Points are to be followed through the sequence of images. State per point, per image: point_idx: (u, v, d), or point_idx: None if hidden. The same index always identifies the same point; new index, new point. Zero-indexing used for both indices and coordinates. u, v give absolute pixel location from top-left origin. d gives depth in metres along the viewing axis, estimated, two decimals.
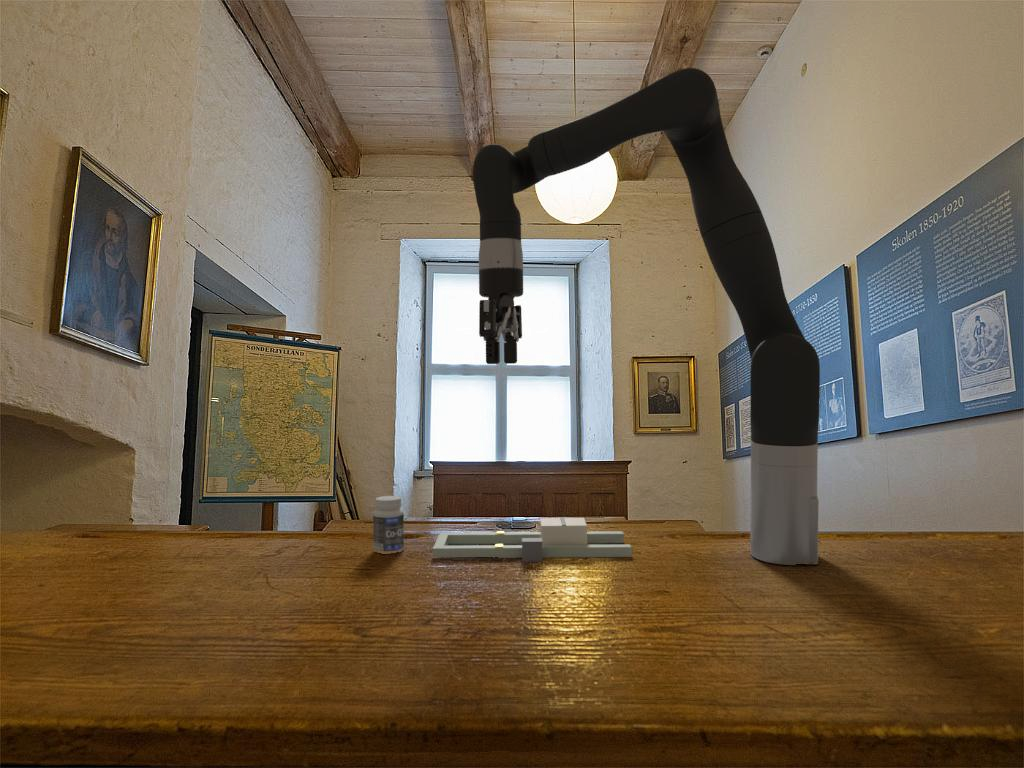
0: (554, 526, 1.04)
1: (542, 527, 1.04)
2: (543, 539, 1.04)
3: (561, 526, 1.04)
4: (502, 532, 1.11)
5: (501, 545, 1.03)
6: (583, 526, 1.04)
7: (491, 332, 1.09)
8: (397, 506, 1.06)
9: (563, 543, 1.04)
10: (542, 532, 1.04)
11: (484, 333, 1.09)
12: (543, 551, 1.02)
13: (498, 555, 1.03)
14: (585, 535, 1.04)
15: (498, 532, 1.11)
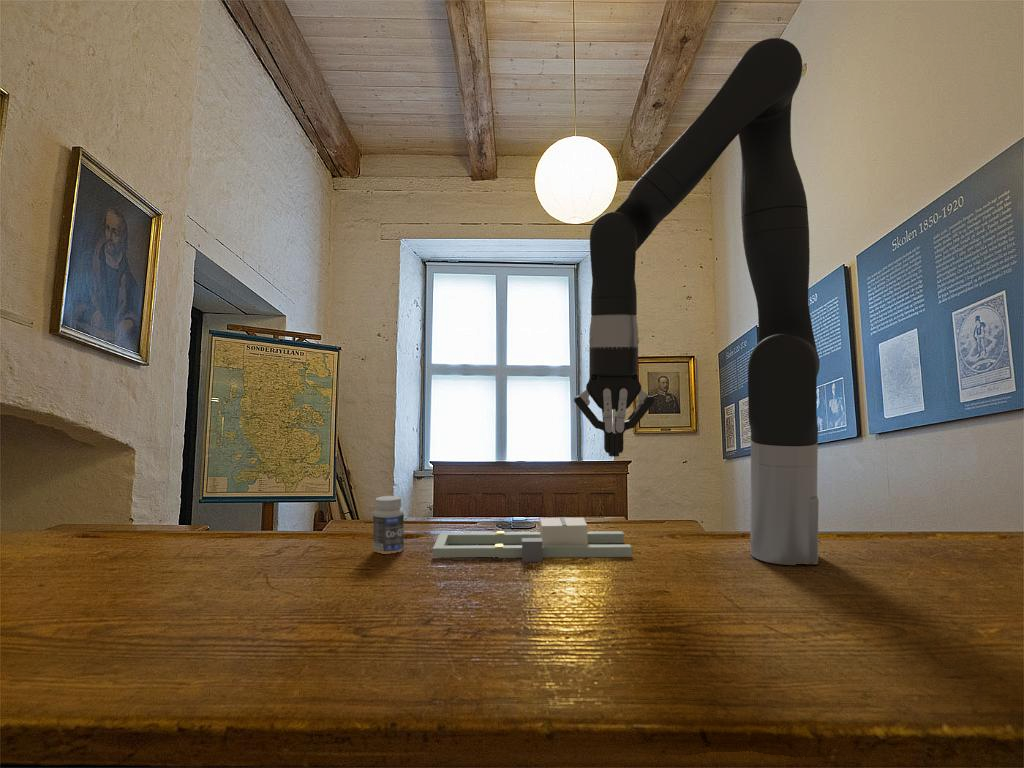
0: (554, 526, 1.04)
1: (542, 527, 1.04)
2: (543, 539, 1.04)
3: (561, 526, 1.04)
4: (502, 532, 1.11)
5: (501, 545, 1.03)
6: (583, 526, 1.04)
7: None
8: (397, 506, 1.06)
9: (563, 543, 1.04)
10: (542, 532, 1.04)
11: None
12: (543, 551, 1.02)
13: (498, 555, 1.03)
14: (585, 535, 1.04)
15: (498, 532, 1.11)
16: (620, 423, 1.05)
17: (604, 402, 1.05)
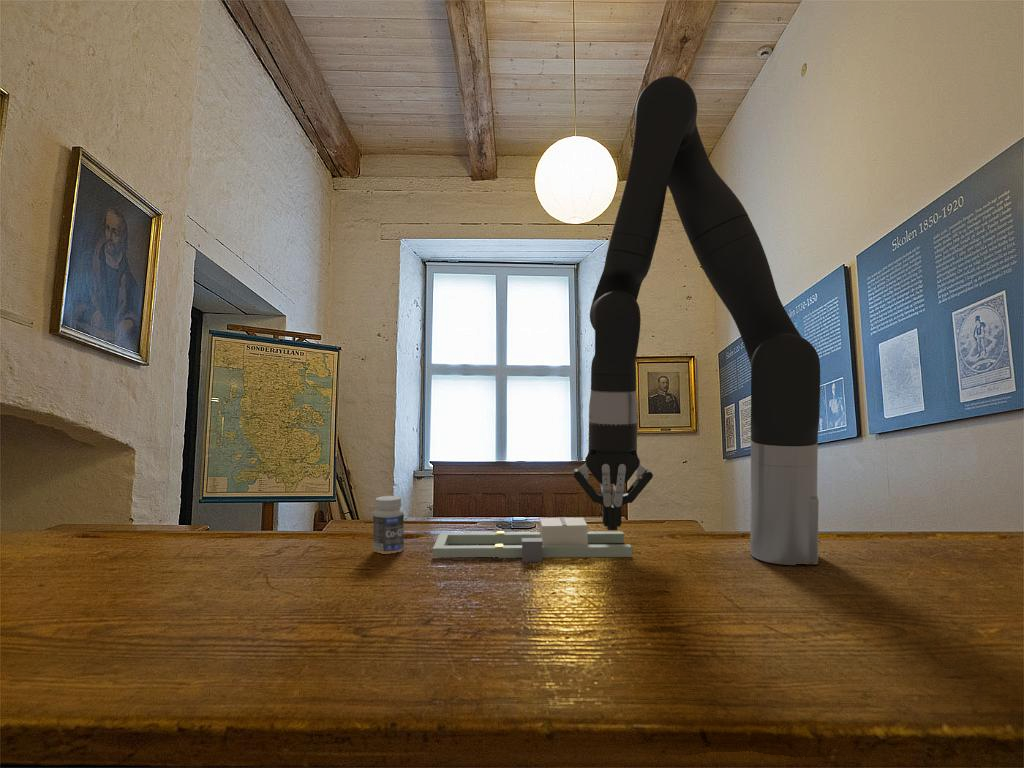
0: (555, 526, 1.04)
1: (543, 527, 1.04)
2: (544, 539, 1.04)
3: (562, 526, 1.04)
4: (502, 532, 1.11)
5: (501, 545, 1.03)
6: (584, 526, 1.05)
7: None
8: (397, 506, 1.06)
9: (564, 543, 1.04)
10: (543, 532, 1.04)
11: None
12: (543, 551, 1.02)
13: (498, 555, 1.03)
14: (586, 535, 1.05)
15: (498, 532, 1.11)
16: (618, 498, 1.06)
17: (603, 477, 1.05)
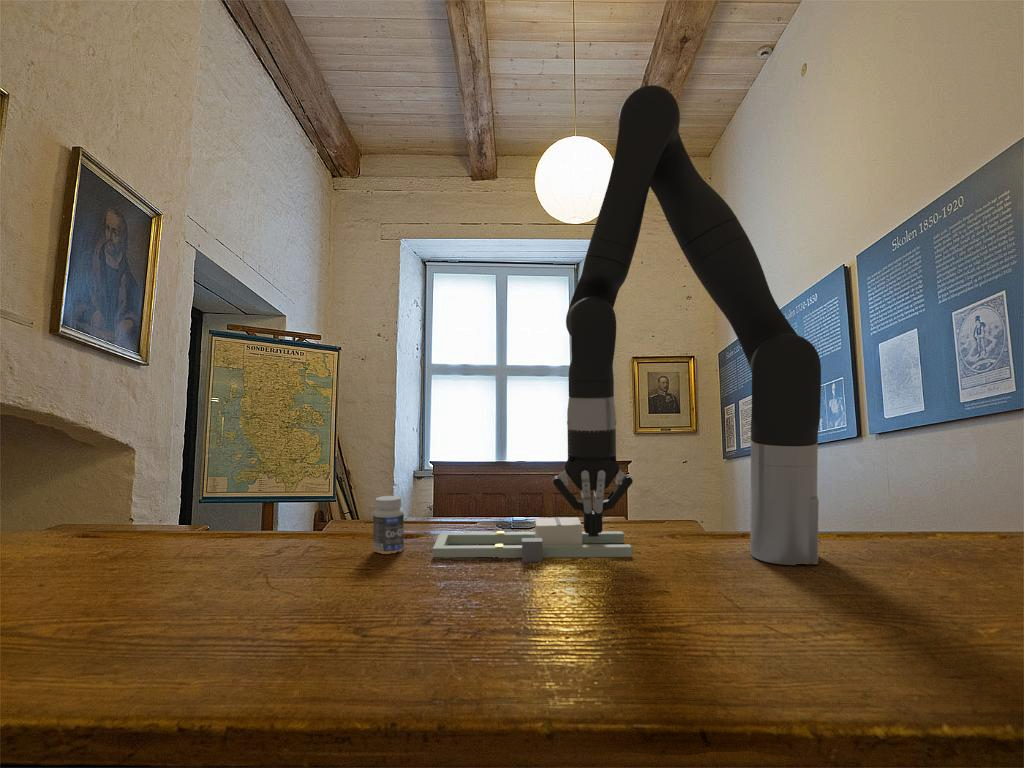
0: (549, 526, 1.05)
1: (537, 527, 1.05)
2: None
3: (556, 526, 1.05)
4: (502, 532, 1.11)
5: (501, 545, 1.03)
6: (578, 526, 1.05)
7: None
8: (397, 506, 1.06)
9: (558, 543, 1.05)
10: (537, 532, 1.05)
11: None
12: (543, 551, 1.02)
13: (498, 555, 1.03)
14: (580, 535, 1.05)
15: (498, 532, 1.11)
16: (599, 504, 1.06)
17: (582, 484, 1.05)
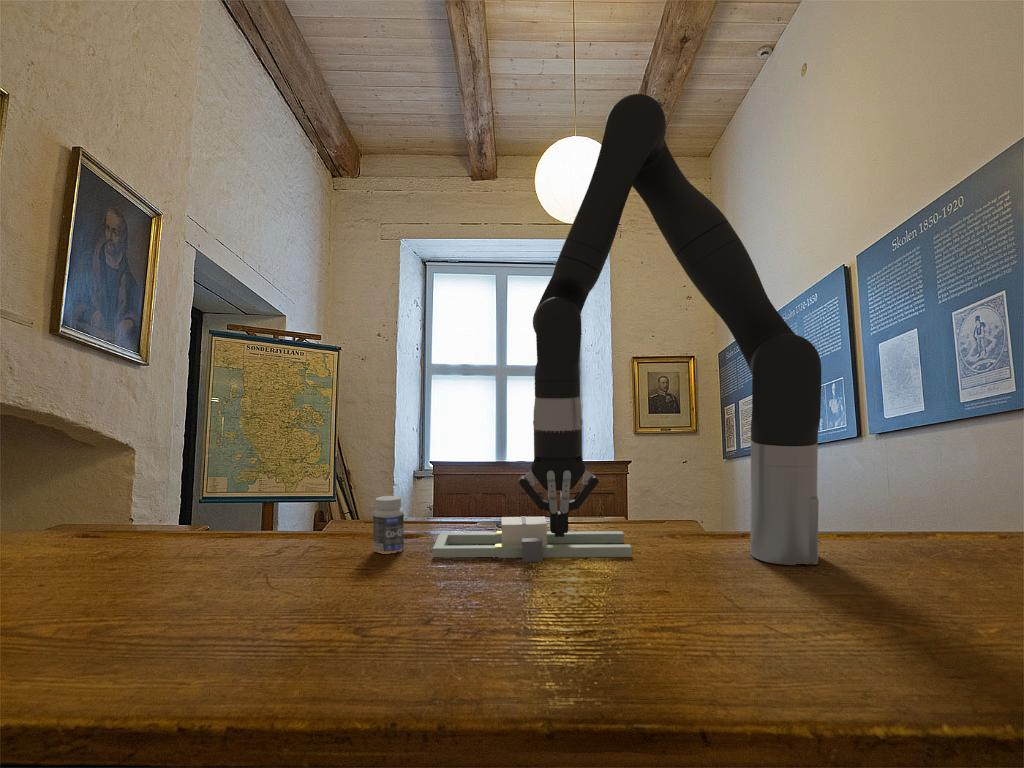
0: (514, 525, 1.05)
1: (502, 526, 1.05)
2: (503, 538, 1.05)
3: (521, 525, 1.05)
4: None
5: (501, 545, 1.03)
6: (543, 525, 1.05)
7: None
8: (397, 506, 1.06)
9: None
10: (502, 531, 1.05)
11: None
12: (543, 551, 1.02)
13: (498, 555, 1.03)
14: (545, 534, 1.05)
15: (498, 532, 1.11)
16: (564, 504, 1.06)
17: (548, 484, 1.05)
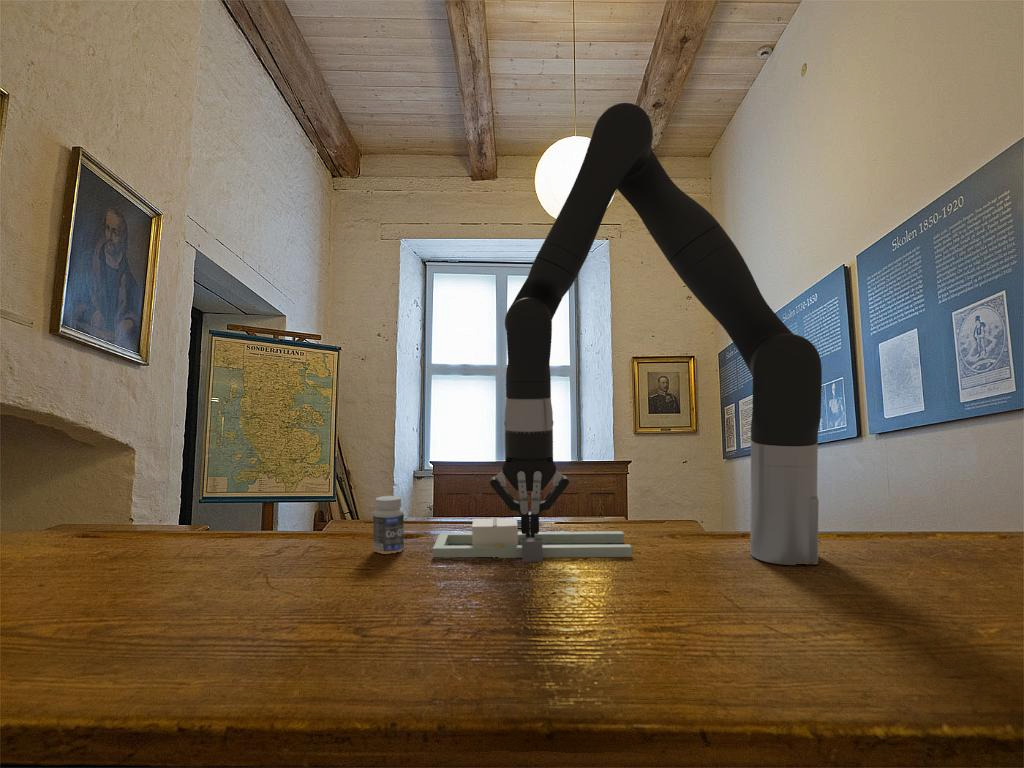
0: (485, 527, 1.05)
1: (473, 528, 1.04)
2: (474, 540, 1.05)
3: (492, 527, 1.05)
4: None
5: (501, 545, 1.03)
6: (514, 527, 1.05)
7: None
8: (397, 506, 1.06)
9: (494, 544, 1.05)
10: (473, 533, 1.05)
11: None
12: (543, 551, 1.02)
13: (498, 555, 1.03)
14: (516, 535, 1.05)
15: None
16: (535, 505, 1.06)
17: (519, 484, 1.05)
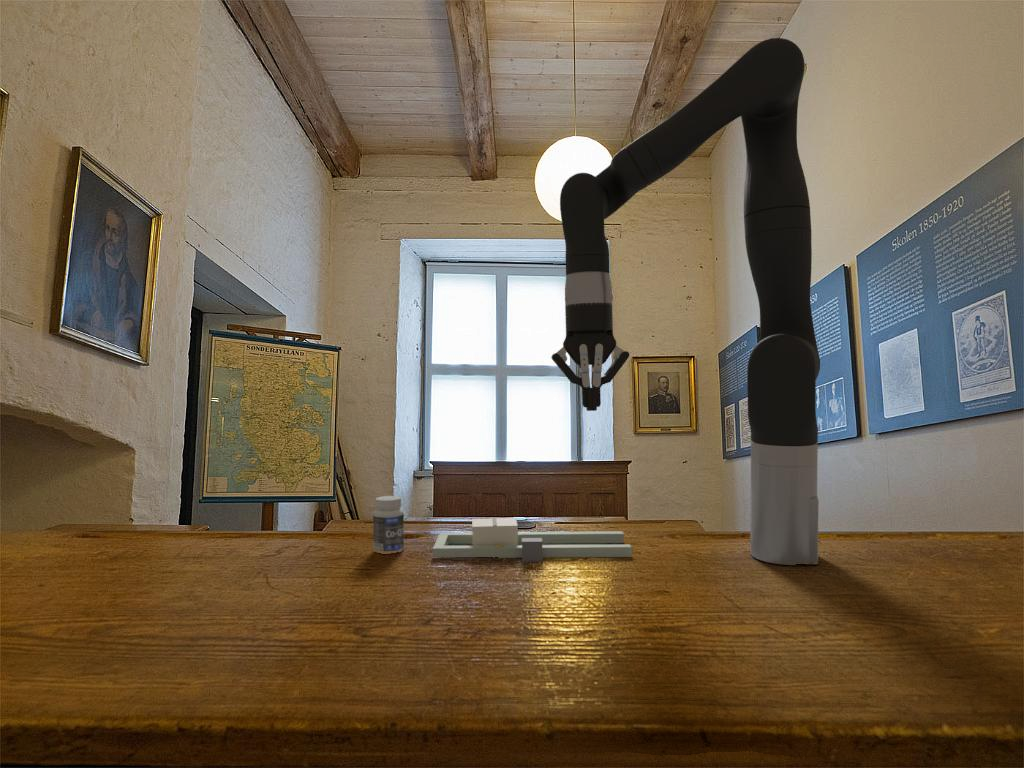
0: (485, 527, 1.05)
1: (473, 528, 1.04)
2: (474, 540, 1.04)
3: (492, 527, 1.05)
4: None
5: (501, 545, 1.03)
6: (514, 526, 1.05)
7: None
8: (397, 506, 1.06)
9: (494, 543, 1.05)
10: (473, 533, 1.04)
11: None
12: (543, 551, 1.02)
13: (498, 555, 1.03)
14: (516, 535, 1.05)
15: None
16: (597, 378, 1.08)
17: (581, 357, 1.08)
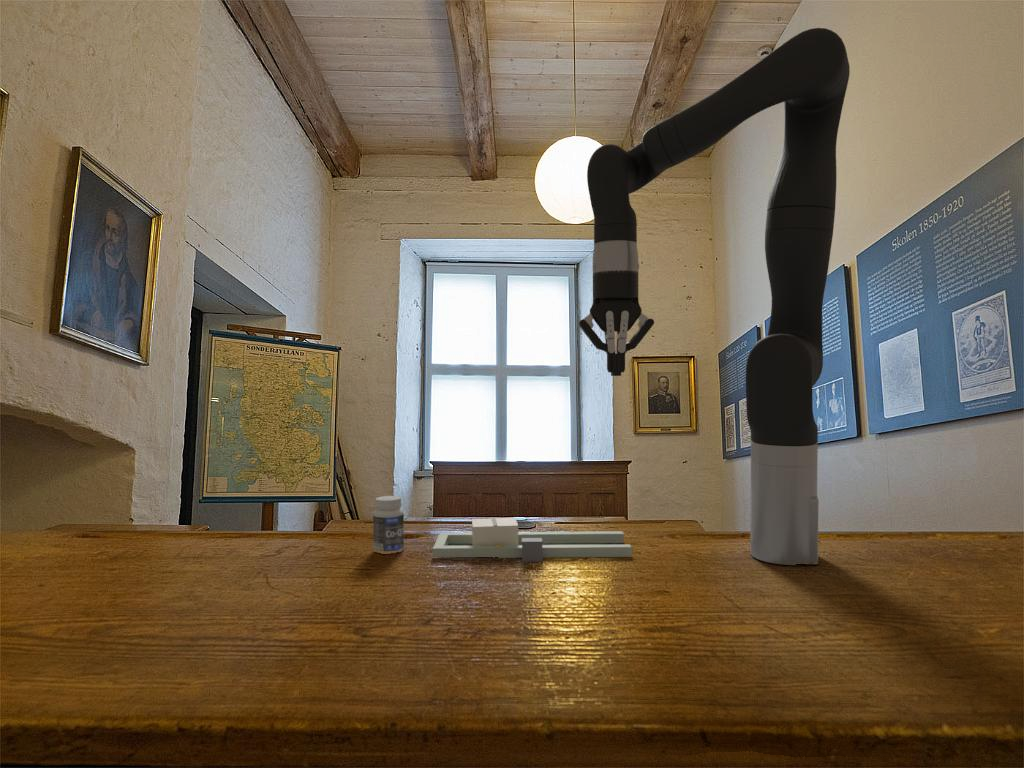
0: (485, 527, 1.04)
1: (473, 528, 1.04)
2: (474, 540, 1.04)
3: (492, 527, 1.05)
4: None
5: (501, 545, 1.03)
6: (514, 526, 1.05)
7: None
8: (397, 506, 1.06)
9: (494, 543, 1.05)
10: (473, 533, 1.04)
11: None
12: (543, 551, 1.02)
13: (498, 555, 1.03)
14: (516, 535, 1.05)
15: None
16: (622, 344, 1.12)
17: (607, 324, 1.11)
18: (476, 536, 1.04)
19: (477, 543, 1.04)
